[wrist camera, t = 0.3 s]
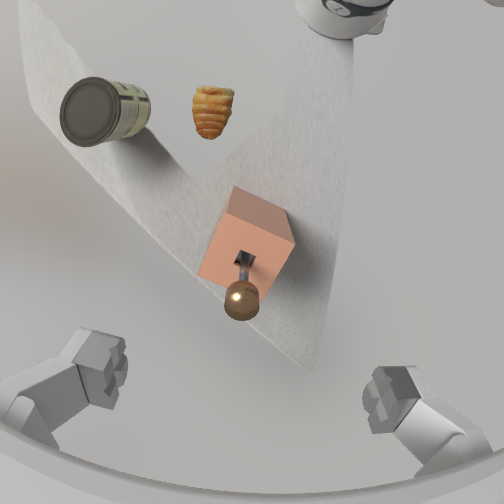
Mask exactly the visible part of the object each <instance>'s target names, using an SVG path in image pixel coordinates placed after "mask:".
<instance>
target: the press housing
mask: <svg viewBox="0 0 504 504" xmlns="http://www.w3.org/2000/svg"><path fill="white" fill-rule="evenodd" d="M294 246H295V241H294V238H293V235H292V232H291V228H290V225H289V222H288V219H287V215H286V212H285V210H284V209H282V208H280V207H278V206H276V205H274V204H272V203H270V202H268V201H266V200H263V199H261V198H259V197H257V196H255V195H253V194H250V193H248V192H246V191H244V190H242V189H240V188H237V187H235V186H234V187H233V189H232V191H231V193H230V195H229V198H228V200H227V202H226V204H225V206H224V208H223V210H222V213H221V215H220V217H219V219H218V221H217V223H216V226H215V228H214V230H213V232H212V235H211V237H210V240H209V243H208V246H207V249H206V251H205V254H204V257H203V260H202V263H201V266H200V269H199V272H198V276H200V277H202V278H205V279H207V280H210V281H212V282H214V283H217V284H219V285H222V286H224V287H226V288H228V287H229V286H230V285H231V284H232V283H234V282H236V281H238V280H239V269H240V264H238V263H236V262H234V261H235V259H236V257H237V255H238V253H239V251H240V249H241V250H243V251H245V252H248V253H250V254H252V255H254V256H256V257H255V258H254V260H253V262H252V264H251V266H250V268H249V282H251V283H253V284H254V285H255V286H256V287H257V289H258V291H259V301H261V302H262V301H263V299H264V297H265V296H266V294H267V292H268V291H269V289H270V287H271V285H272V284H273V282H274V280H275V279H276V277H277V275H278V274H279V272H280V270H281V268H282V267H283V265H284V263H285V262H286V260H287V258H288V256H289V255H290V253H291V251H292V249H293V248H294Z"/></svg>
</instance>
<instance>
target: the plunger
mask: <svg viewBox="0 0 504 504" xmlns="http://www.w3.org/2000/svg"><path fill="white" fill-rule="evenodd" d="M255 257H256V256H254V255H252V254H250V253H248V252H245V251H243V250H241V249H240V251H239V253H238V255H237V257H236V259H235V261H234V262H236V263H238V264H240V269H239V280H238V281H236V282H234V283H232V284H231V285H230V286H229V287H228V288H227V291H226V297H225V304H224V308H225V311H226V313H227V314H228V315H229V316H230V317H231V318H233V319H235V320H238V321H246V320H250V319H252V318H253V317H255V316H256V315H257V313H258V311H259V291H258V289H257V287H256V286H255V285H254V284H253V283H251V282H249V268H250V266H251V264H252V262H253V260H254V258H255Z"/></svg>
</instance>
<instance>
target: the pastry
mask: <svg viewBox="0 0 504 504" xmlns="http://www.w3.org/2000/svg"><path fill="white" fill-rule="evenodd" d="M233 96H234V91H233V90H232V89H229V88H218V87H213V86H204V85H203V86H200V87H198V88H197V91H196V94H195V95H194V97H193V108H192V112H193V118H194V122H195V125H196V130H197V132H198V133H199V135H201V136H202V137H203V138H205V139H211V140H213V139H215V138H217V137H218V136H220V135H221V133H222V131H223V128H224V127H225V126H226V124H227V121H228V119H229V117H230V115H231V113H232V112H231V107H232V102H233Z"/></svg>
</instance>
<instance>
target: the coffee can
mask: <svg viewBox="0 0 504 504" xmlns="http://www.w3.org/2000/svg"><path fill="white" fill-rule="evenodd" d="M150 112H151V104H150V100H149V97H148V95H147V93H146V92H145V91H144V90H143V89H142V88H140V87H138V86H136V85H132V84H126V83H120V82H116V81H110V80H105V79H103V78H99V77H88V78H85V79H82V80H80V81H78V82H77V83H76V84H74V85H73V86H72V87H71V88H70V89H69V91H68V92H67V93H66V95H65V97H64V99H63V101H62V104H61V108H60V125H61V128H62V131H63V133H64V135H65V136H66V138H67V139H68V140H69V141H70V142H72V143H73V144H75V145H77V146H80V147H92V146H95V145H98V144H100V143H104V142H108V141H113V140H117V139H121V138H128V137H131V136H134V135H136V134H137V133H139V132H140V131H141V130H142V129H143V128H144V127H145V125H146V124H147V122H148V119H149V116H150Z"/></svg>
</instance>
